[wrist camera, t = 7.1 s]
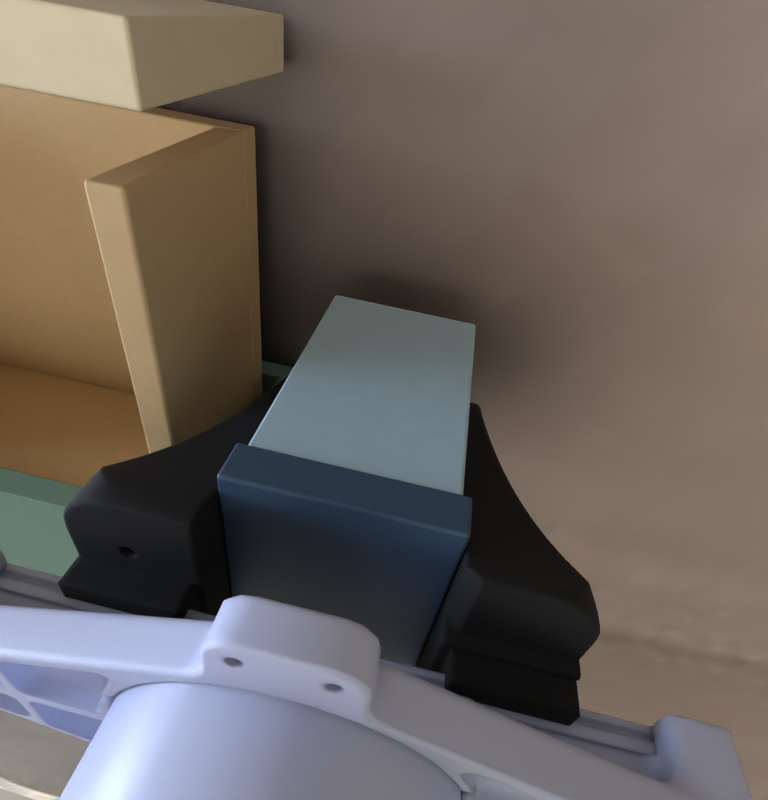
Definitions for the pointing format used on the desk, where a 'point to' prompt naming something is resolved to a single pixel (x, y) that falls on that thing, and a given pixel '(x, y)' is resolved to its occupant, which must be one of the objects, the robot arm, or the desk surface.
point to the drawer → (125, 228)
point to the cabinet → (55, 510)
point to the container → (359, 475)
